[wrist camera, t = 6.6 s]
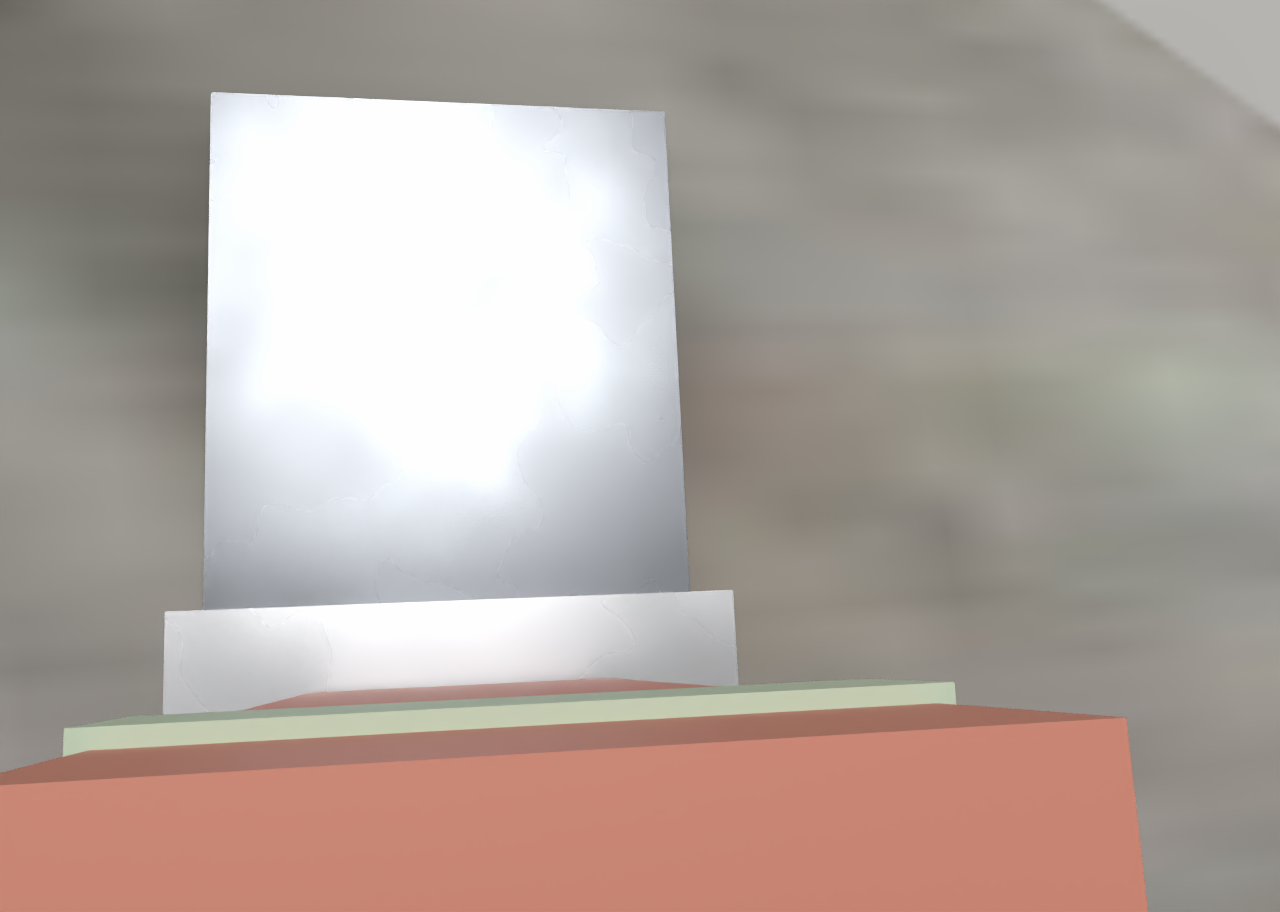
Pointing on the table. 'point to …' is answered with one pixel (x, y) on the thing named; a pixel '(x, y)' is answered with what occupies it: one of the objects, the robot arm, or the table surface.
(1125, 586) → the table surface
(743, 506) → the table surface
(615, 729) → the salmon pink rectangular block
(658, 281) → the stand base
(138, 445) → the table surface
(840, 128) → the table surface
